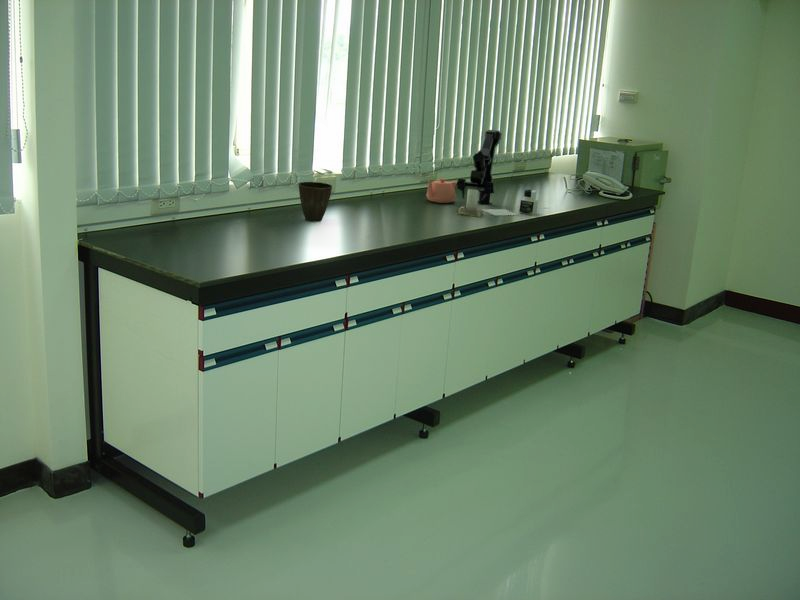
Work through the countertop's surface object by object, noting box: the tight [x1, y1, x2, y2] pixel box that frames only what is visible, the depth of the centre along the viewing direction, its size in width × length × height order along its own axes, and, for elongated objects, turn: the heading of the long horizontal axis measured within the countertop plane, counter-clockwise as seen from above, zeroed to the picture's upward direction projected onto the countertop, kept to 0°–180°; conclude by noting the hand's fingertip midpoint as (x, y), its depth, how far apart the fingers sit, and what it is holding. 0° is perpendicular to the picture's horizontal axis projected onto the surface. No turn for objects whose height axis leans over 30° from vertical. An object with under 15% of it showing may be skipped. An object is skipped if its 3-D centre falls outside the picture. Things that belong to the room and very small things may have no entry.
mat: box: [482, 208, 519, 217], centre depth 432 cm, size 14×14×1 cm
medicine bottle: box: [518, 189, 539, 216], centre depth 436 cm, size 7×7×12 cm
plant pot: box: [298, 181, 333, 222], centre depth 380 cm, size 15×15×16 cm
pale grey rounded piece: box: [465, 188, 480, 211], centre depth 422 cm, size 8×5×12 cm
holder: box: [457, 206, 484, 217], centre depth 423 cm, size 8×11×2 cm
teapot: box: [426, 177, 457, 204], centre depth 449 cm, size 22×15×12 cm
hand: (472, 199), depth 422 cm, fingers open, 9 cm apart
